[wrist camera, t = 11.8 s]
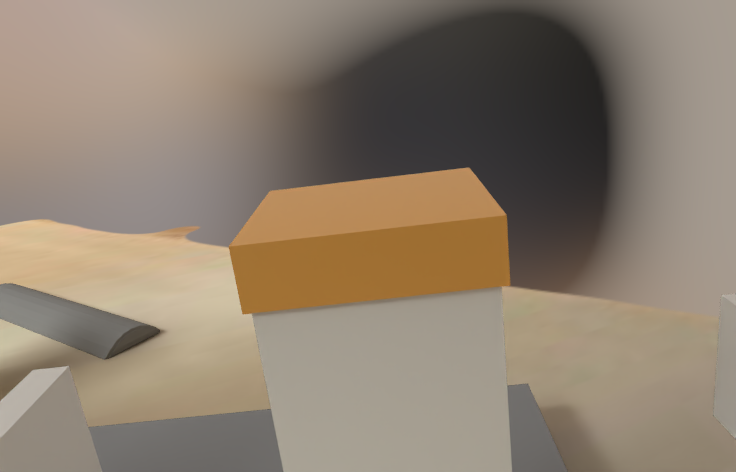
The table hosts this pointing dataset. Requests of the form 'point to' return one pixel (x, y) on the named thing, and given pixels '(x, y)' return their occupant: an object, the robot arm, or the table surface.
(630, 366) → the table surface
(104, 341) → the half round rod
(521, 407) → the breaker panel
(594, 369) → the table surface
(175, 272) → the table surface
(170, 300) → the table surface
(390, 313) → the white orange rectangular block
